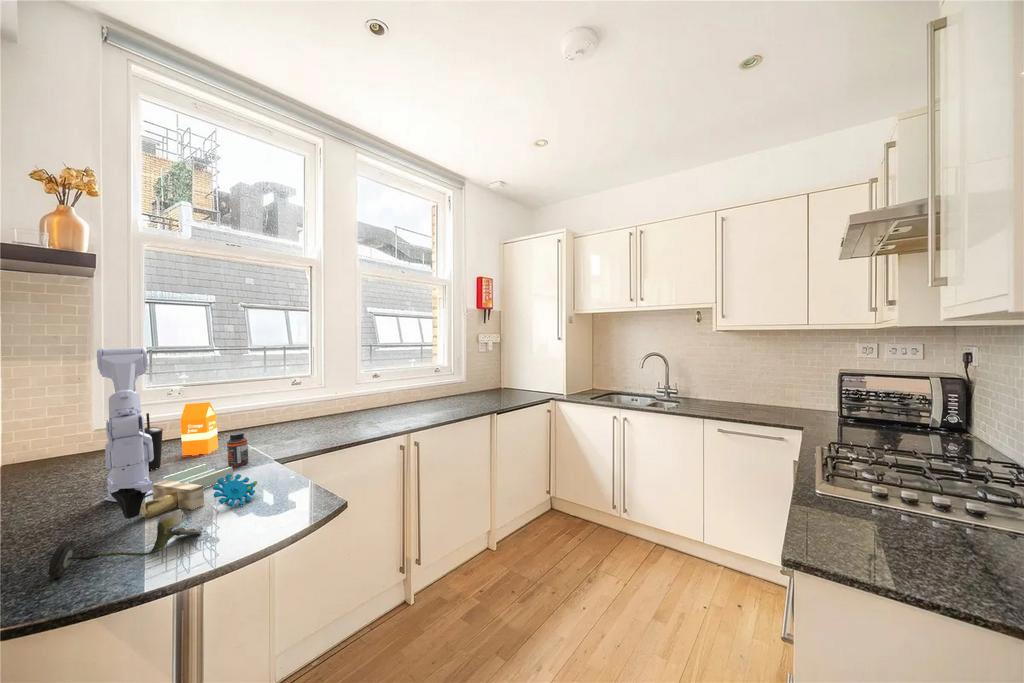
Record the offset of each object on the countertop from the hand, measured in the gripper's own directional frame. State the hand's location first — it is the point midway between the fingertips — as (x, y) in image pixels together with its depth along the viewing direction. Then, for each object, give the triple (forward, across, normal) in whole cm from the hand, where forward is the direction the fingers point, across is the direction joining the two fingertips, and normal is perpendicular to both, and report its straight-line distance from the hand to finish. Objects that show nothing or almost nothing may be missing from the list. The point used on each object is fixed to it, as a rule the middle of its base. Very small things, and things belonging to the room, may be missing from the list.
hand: (132, 516), depth 95 cm
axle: (0, 0, +8) cm, 9 cm away
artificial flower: (+2, +19, -8) cm, 21 cm away
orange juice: (+2, -47, +45) cm, 65 cm away
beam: (+1, 0, +10) cm, 10 cm away
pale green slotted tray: (+1, -11, +22) cm, 25 cm away
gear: (+2, +16, +15) cm, 22 cm away
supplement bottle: (+2, -16, +38) cm, 41 cm away
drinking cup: (+2, -44, +27) cm, 52 cm away
